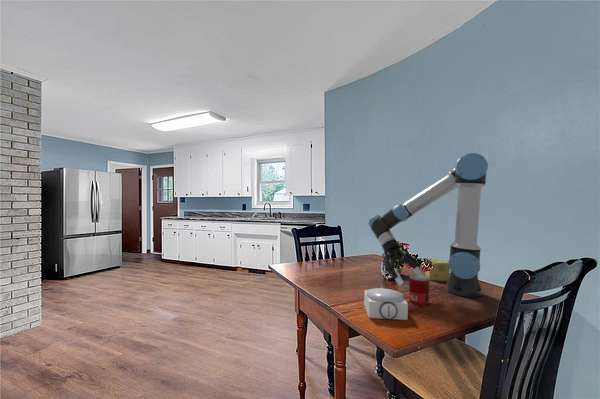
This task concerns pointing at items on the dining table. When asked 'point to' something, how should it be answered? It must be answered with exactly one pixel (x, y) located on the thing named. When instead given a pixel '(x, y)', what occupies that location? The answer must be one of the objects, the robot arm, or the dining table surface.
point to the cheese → (438, 271)
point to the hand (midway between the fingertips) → (413, 282)
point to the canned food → (419, 289)
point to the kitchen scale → (385, 304)
